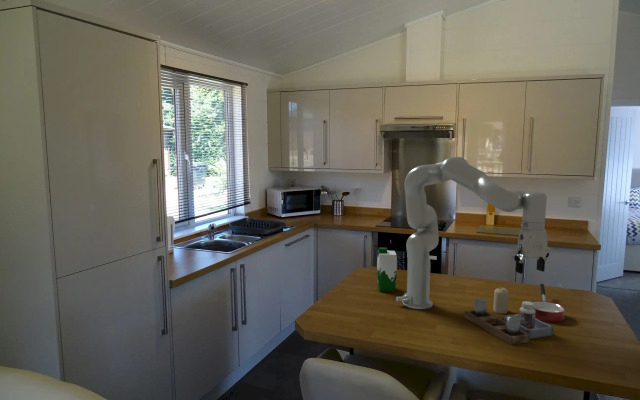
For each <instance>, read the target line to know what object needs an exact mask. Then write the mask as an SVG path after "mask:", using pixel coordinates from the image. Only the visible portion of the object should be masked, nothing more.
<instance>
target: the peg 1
mask: <svg viewBox="0 0 640 400" xmlns="http://www.w3.org/2000/svg"><path fill="white" fill-rule="evenodd" d="M473 305H474V306H473V310H474V315H475V316H477V317H485V316H486V311H487V299H485V298H480V297H475V299H474V304H473Z"/></svg>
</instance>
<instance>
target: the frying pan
mask: <svg viewBox="0 0 640 400" xmlns="http://www.w3.org/2000/svg"><path fill="white" fill-rule="evenodd" d="M539 285H540V286H539V287H540V293H541V297H542V300H532V301H530V302H532V303H534V308H533V309H534V310H535V318H536V319H538V320H540V321H542V322H544V323H561V322H563V321H564V320H565V315H566V314H565V313H566V308H565V307H564V306H563V305H561V304H559V303H556V302H553V301H547V300H546V290H545V284H544V283H540V284H539Z"/></svg>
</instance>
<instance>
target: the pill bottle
mask: <svg viewBox="0 0 640 400" xmlns="http://www.w3.org/2000/svg"><path fill="white" fill-rule="evenodd" d="M533 308H534V303H532V302H531V301H528V300H525V301H522V302H521V307H519V313H518V314H519V317H520V325H522V326H524V327H526V328H527V329H534V324H535V310H534V309H533Z"/></svg>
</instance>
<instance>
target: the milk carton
mask: <svg viewBox="0 0 640 400" xmlns="http://www.w3.org/2000/svg"><path fill="white" fill-rule="evenodd" d="M376 260H377V261H376V267H377V268H376V282H377V289H378V291H379V292H380V293H381V292H383V293H385V292H387V293H388V292H389V293H391V292H392V293H396V285H397V278H398V277H397V272H398V271H397V270H398V269H397V268H398V258H397V253H396V251H395V250H388V247H384V246H382V247H378V250H377V259H376Z"/></svg>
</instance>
